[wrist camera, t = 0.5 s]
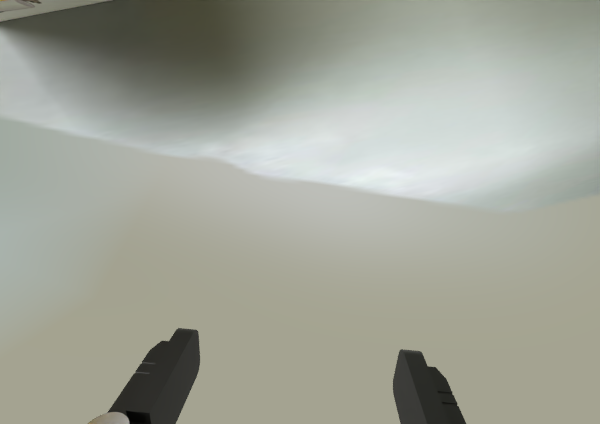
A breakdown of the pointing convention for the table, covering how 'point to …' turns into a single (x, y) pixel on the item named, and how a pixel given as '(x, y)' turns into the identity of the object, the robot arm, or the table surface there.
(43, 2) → the packaging box
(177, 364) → the robot arm
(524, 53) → the table surface
